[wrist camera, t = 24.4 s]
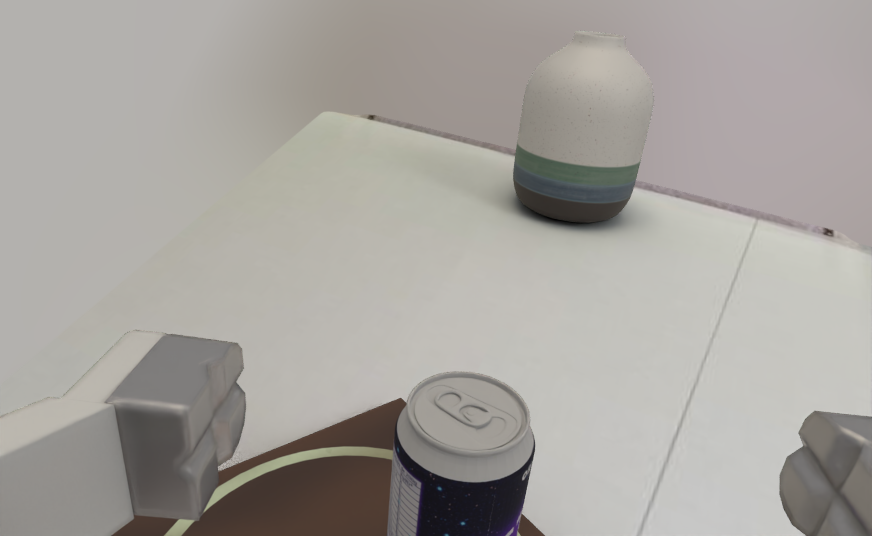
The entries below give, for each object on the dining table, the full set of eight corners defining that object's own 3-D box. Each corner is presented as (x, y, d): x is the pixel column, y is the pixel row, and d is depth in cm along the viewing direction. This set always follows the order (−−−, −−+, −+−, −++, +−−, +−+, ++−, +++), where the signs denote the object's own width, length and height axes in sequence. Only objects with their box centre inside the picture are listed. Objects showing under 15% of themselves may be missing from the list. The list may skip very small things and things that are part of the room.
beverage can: (447, 694, 25) (482, 486, 20) (357, 605, 28) (366, 405, 23) (522, 604, 29) (567, 410, 24) (435, 534, 32) (458, 350, 27)
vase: (645, 214, 88) (689, 41, 78) (591, 243, 76) (635, 44, 66) (546, 184, 98) (574, 26, 87) (485, 205, 86) (508, 25, 75)
